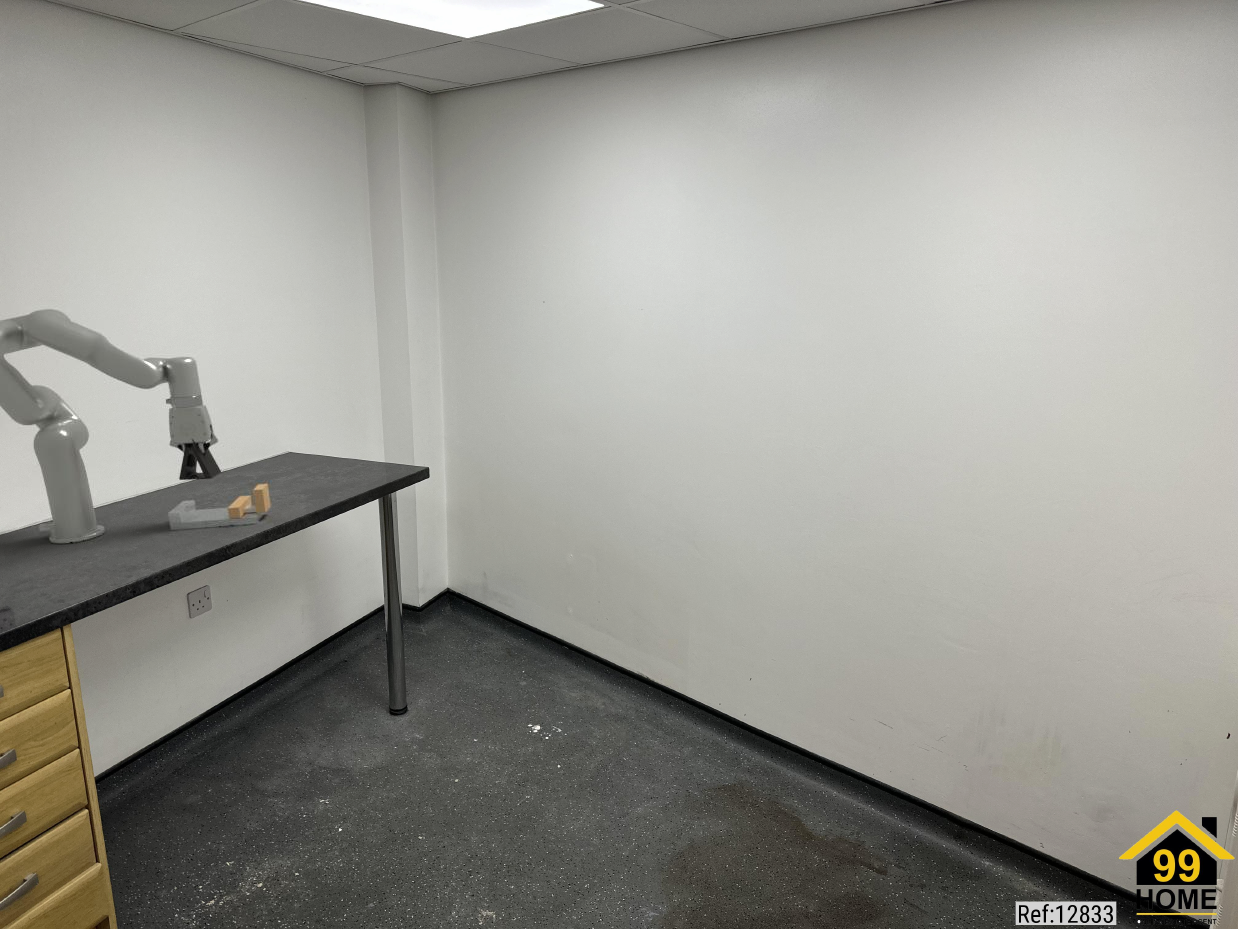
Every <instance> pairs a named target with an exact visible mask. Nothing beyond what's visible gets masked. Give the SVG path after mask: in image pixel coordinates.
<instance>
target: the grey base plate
mask: <svg viewBox="0 0 1238 929" xmlns="http://www.w3.org/2000/svg"><path fill="white" fill-rule="evenodd" d="M265 514H266V513H256V512H249V513H244V514H243V515H242V516H241V518H229V514H228V507H218V508H204V509H196V510H195V511H194V512H193V513H192V514H191V515H190V516H188V517H187V518H186V519H185V520H184V521H183V522H182V523H170V522H169V527H170V531H177V530H178V531H179V530H193V529H205V527H207V528H219V526H221V527H230V525H234V526H243V524H247V525H256V524H258V523H259V522H260V521H261V519H262V518H263V517H264V516H265ZM263 515H264V516H263ZM257 522H258V523H257Z"/></svg>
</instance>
